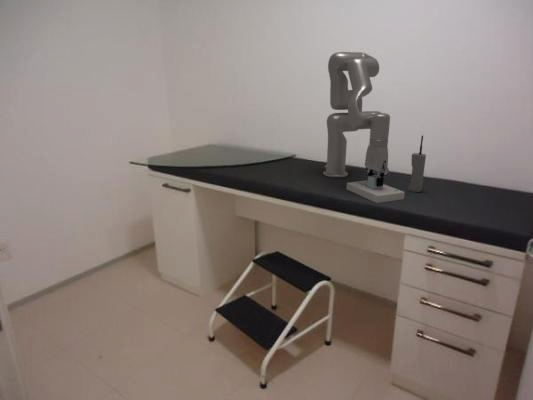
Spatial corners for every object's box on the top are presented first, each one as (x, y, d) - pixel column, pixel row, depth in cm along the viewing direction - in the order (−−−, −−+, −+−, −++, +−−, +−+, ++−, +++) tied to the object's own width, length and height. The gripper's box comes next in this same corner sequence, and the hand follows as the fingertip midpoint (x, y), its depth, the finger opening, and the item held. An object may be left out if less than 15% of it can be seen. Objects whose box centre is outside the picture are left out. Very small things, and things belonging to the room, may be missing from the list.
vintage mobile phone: (410, 188, 183) (416, 134, 176) (421, 190, 180) (428, 135, 173) (407, 190, 181) (413, 135, 173) (418, 192, 178) (425, 136, 170)
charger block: (366, 191, 176) (367, 175, 174) (375, 190, 178) (376, 174, 176) (373, 194, 172) (374, 178, 170) (381, 193, 174) (383, 177, 172)
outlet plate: (346, 189, 183) (346, 182, 182) (371, 185, 188) (372, 179, 187) (377, 203, 163) (377, 195, 162) (404, 199, 169) (404, 191, 168)
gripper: (359, 140, 175) (356, 180, 180) (384, 147, 160) (380, 190, 165) (373, 139, 178) (369, 178, 183) (399, 145, 163) (395, 188, 168)
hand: (374, 184), depth 174 cm, fingers open, 5 cm apart
